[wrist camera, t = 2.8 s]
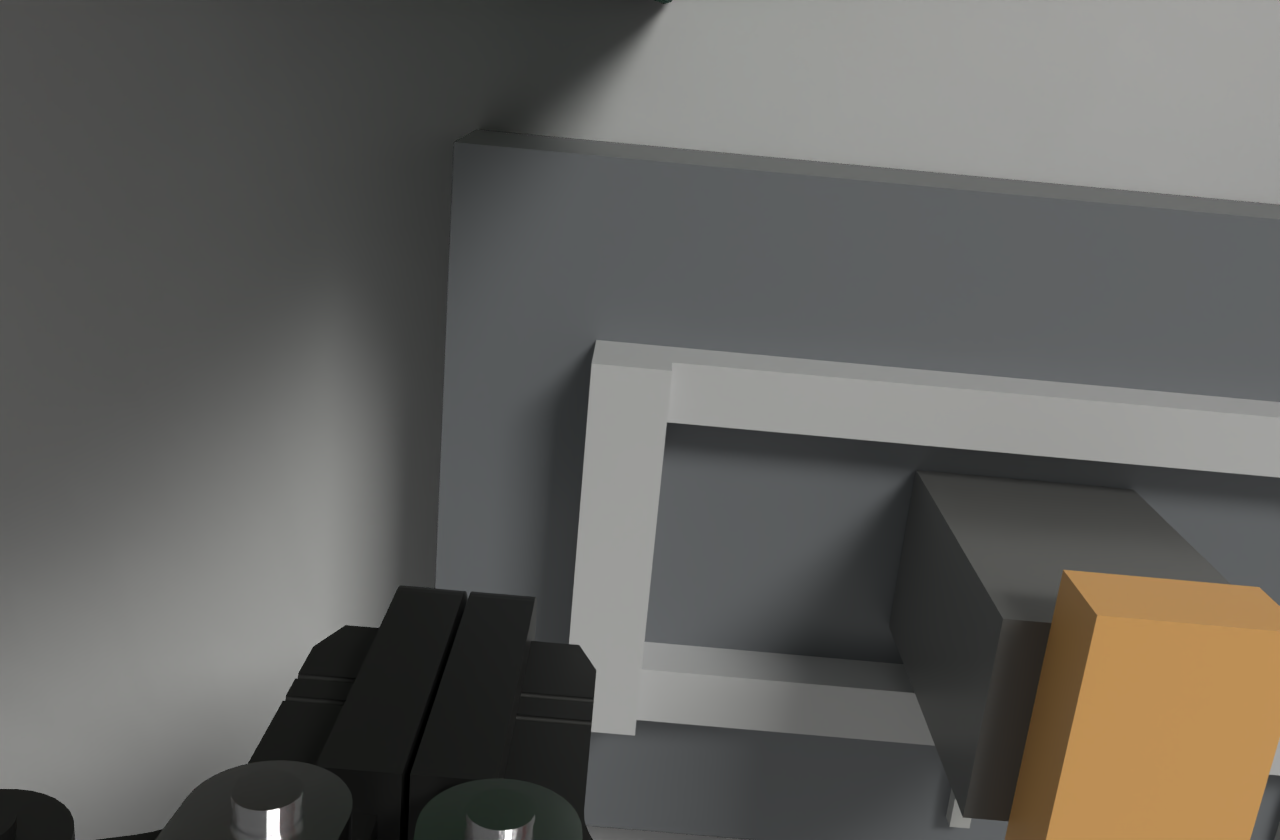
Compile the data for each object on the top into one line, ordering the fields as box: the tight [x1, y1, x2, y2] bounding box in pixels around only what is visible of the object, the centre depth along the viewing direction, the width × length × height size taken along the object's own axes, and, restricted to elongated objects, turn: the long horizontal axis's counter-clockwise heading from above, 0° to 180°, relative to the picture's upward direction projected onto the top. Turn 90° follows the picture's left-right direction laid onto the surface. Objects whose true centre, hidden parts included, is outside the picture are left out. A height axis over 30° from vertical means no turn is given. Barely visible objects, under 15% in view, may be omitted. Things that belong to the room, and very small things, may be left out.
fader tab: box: [889, 470, 1280, 840], centre depth 14 cm, size 4×3×5 cm
